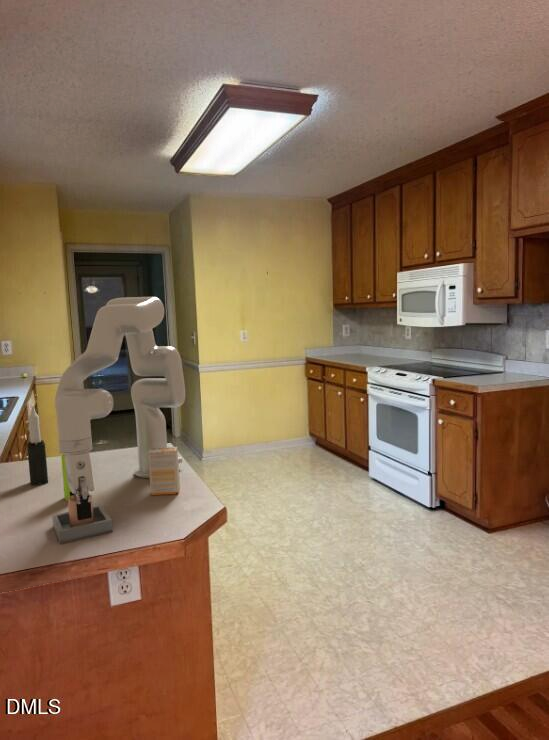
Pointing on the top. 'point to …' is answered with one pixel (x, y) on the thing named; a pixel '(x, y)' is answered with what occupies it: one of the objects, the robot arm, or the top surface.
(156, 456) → the supplement box
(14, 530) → the top surface
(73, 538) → the tray
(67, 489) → the soap dispenser
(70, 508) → the cup
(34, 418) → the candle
